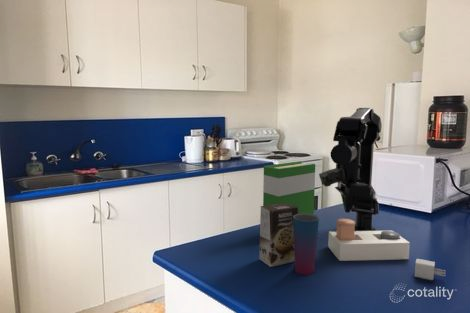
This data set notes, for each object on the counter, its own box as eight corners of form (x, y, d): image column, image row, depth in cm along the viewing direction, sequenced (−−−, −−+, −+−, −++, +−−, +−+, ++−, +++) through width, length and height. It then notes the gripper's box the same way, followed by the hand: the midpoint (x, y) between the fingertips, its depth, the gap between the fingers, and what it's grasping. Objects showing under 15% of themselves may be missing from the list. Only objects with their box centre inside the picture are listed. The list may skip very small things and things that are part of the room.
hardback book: (298, 224, 140) (299, 161, 136) (313, 229, 134) (315, 164, 131) (262, 234, 129) (263, 166, 126) (277, 240, 123) (279, 169, 120)
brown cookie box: (270, 267, 103) (271, 211, 100) (258, 259, 108) (259, 205, 106) (297, 261, 107) (299, 207, 105) (284, 253, 113) (285, 201, 110)
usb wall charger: (415, 271, 101) (416, 257, 100) (445, 277, 97) (446, 263, 97) (414, 277, 97) (415, 263, 97) (444, 284, 94) (445, 268, 93)
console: (328, 246, 118) (328, 231, 117) (391, 245, 119) (392, 230, 118) (339, 260, 107) (340, 244, 107) (408, 259, 109) (409, 242, 108)
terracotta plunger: (333, 236, 115) (334, 218, 114) (350, 235, 115) (351, 218, 114) (339, 242, 109) (340, 224, 109) (356, 242, 110) (357, 224, 109)
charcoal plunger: (377, 247, 116) (378, 231, 115) (393, 247, 116) (394, 230, 116) (384, 254, 111) (385, 236, 110) (401, 254, 111) (403, 236, 110)
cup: (318, 267, 103) (320, 214, 101) (315, 277, 97) (317, 222, 95) (294, 263, 105) (295, 212, 103) (289, 274, 99) (290, 219, 97)
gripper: (313, 156, 117) (312, 204, 120) (333, 165, 99) (330, 222, 101) (348, 156, 118) (345, 203, 120) (373, 165, 100) (370, 221, 102)
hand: (347, 212), depth 111 cm, fingers closed
